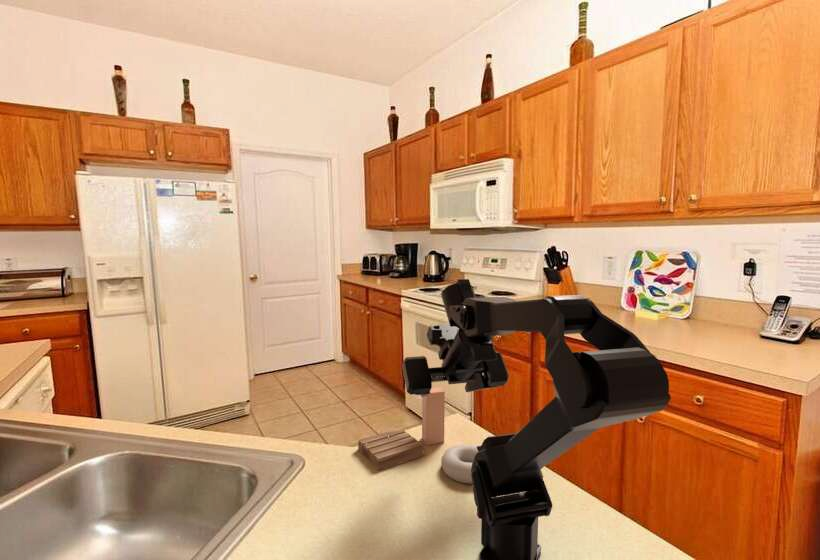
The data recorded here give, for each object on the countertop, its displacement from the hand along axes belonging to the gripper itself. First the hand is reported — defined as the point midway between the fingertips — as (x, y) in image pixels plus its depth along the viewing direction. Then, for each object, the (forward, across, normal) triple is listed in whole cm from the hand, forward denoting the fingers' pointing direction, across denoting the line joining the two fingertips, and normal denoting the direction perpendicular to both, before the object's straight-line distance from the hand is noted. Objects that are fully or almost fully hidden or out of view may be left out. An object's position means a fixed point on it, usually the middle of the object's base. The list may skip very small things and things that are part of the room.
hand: (444, 392), depth 78 cm
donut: (+5, -3, +14) cm, 15 cm away
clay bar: (+14, 0, +4) cm, 15 cm away
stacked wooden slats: (+12, +10, +6) cm, 17 cm away
